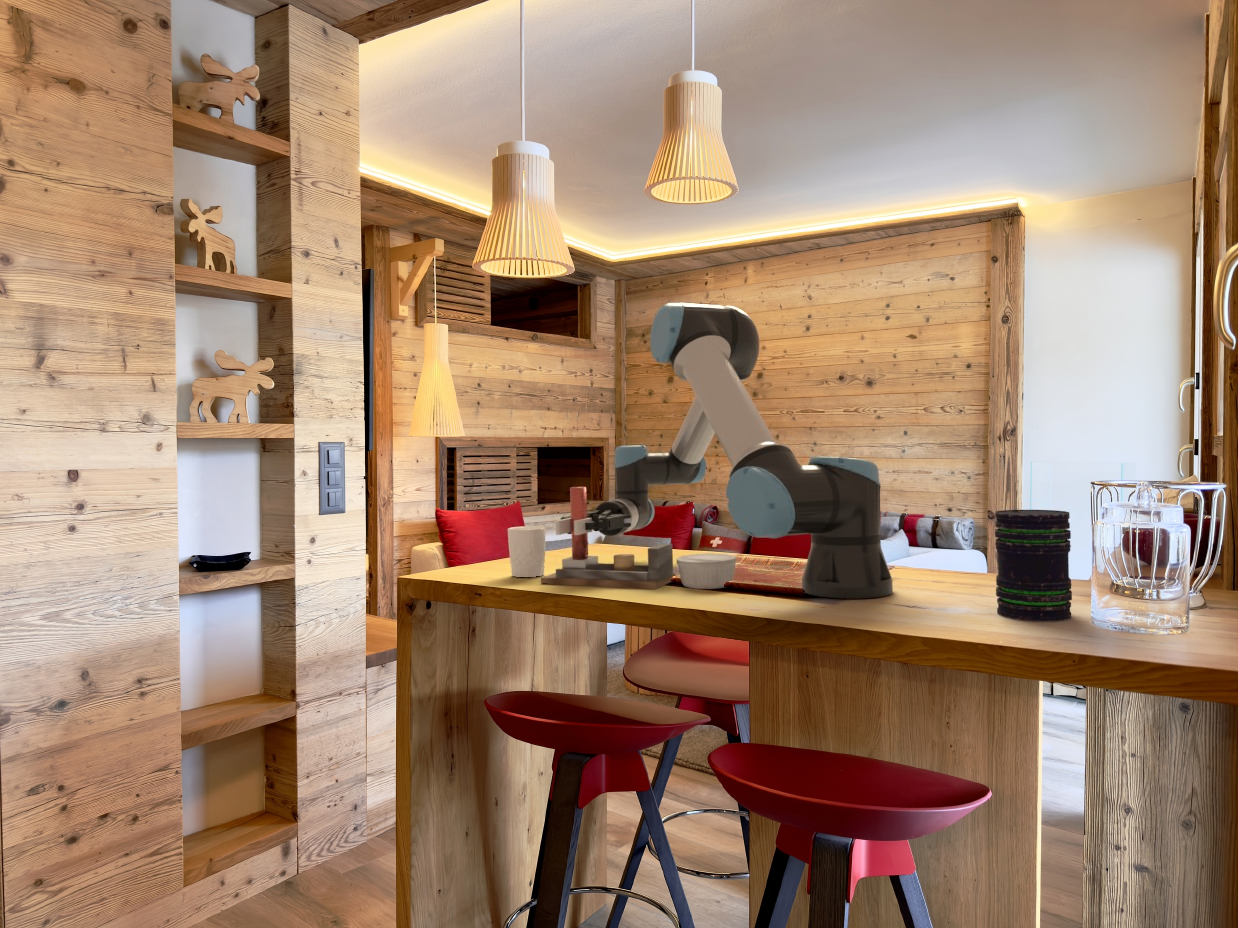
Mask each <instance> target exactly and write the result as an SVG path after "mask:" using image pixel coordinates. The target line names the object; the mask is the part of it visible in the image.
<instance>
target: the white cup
mask: <svg viewBox="0 0 1238 928" xmlns="http://www.w3.org/2000/svg"><path fill="white" fill-rule="evenodd" d="M546 531H547V530H546V526H541V525H540V526H539V525H532V526H531V525H524V526H514V527H509V528H507V538H508V540H507V542H508V550H509V551H508V552H509V561H510V562H509V563H510V568H511V577H512V576H516V577H533V578H537V577H536V576H540V577H543V576H544V575H545V562H546V559H545V558H546ZM542 575H543V576H542ZM516 577H515V578H516Z"/></svg>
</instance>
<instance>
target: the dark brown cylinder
mask: <svg viewBox="0 0 1238 928" xmlns="http://www.w3.org/2000/svg"><path fill="white" fill-rule="evenodd" d="M994 515H995V516H994V517H995V518H996V519H995V520H996V521H995V524H994V527H995V529H994V537H995V544H994V545H995V549H996V550H997V575H996V577H995V579H996V580H995V582H996V587H995V596H996V597H998V598H997V599H996V602H997V606H998V607H997V608H996V611H997V612H996V613H997V614H998V615H999V616H1000V617H1003V618H1007V619H1012V620H1016V621H1017V620H1018V621H1024V622H1025V621H1026V622H1039V623H1046V622H1047V623H1048V622H1049V623H1050V622H1052V623H1055V622H1064V621H1068V620H1070V619H1072V612H1071V607H1072V602H1071V601H1072V599H1073V591H1072V590H1071V589H1072V586H1073V585H1072V579H1071V578H1070V573H1069V572H1070V569H1069V568H1070V567H1069V565H1070V564H1069V562H1070V561H1069V553H1070V552H1071V548H1072V545H1071V540H1070V539H1071V538H1072V537H1071V536H1072V533H1071V532H1072V531H1071V530H1070V528H1071V527H1070V526H1071V524H1070V522H1069V519H1070V517H1071V516H1070V511H1067V510H1066V511H1065V510H1064V511H1063V510H1057V509H1055V510H1053V509H1050V510H1049V509H1004V510H997V511H995V512H994Z"/></svg>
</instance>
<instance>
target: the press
mask: <svg viewBox="0 0 1238 928" xmlns="http://www.w3.org/2000/svg"><path fill="white" fill-rule="evenodd" d="M673 554H674V553H673V543H661V544H657V545H654V546H652V547H649V548H647V564H636V563H635V571H614V563H603V562H602V563H600V562H598V570H580V569H562V568H556V569H555V572H554V573H550V574H548V575H547V574H546V575H545V576H544V575H543V576H540V584H541V583H548V584H547V585H557V584H561V585H560V586H579V585H580V586H581V587H583V586H584V587H601V588H603V587H605V588H606V587H607V588H625V589H627V588H628V589H645V590H647V589H649V590H651V589H652V590H657V589H659V588H661V587H663V586H665V585H667V584H670V583H671V582H673V581H671V578H672V577H673V576H676V577H677V573H674V564H673V563H674V560H673V559H674V558H673V557H674V555H673Z"/></svg>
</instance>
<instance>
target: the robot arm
mask: <svg viewBox="0 0 1238 928" xmlns="http://www.w3.org/2000/svg"><path fill="white" fill-rule="evenodd" d="M649 341H650V342H649V344H650V345H649V347H650V352H651V356H652V358H653V359H654V361H656V362H657V363H661V365H664V364H670V366H671V368H672V370H673V372H674V373H675V375H676V376H677V377H678V379H680V380H681V381H684V382H686V383H687V382H688V383H689V386H690V387H691V389H692V391H693V393H694V395H695V396H694V399H693V401H692V403H691V405H690V407H689V409H688V410H687V411H688V412H687V414H686V415H685V418H684V420H683V422H682V424H681V427H680V429H679V431H678V433H677V435H676V437H675V438H674V441H673V444H672V446H671V447H670V450H669V451H668V452H649V451H648V446H646V445H643V444H640V445H639V444H638V445H620V446H617V447H616V448H615V449H614V450H615V451H614V465H613V467H614V478H615V479H614V480H615V481H614V482H615V483H614V484H615V499H613V500H606V501H602V502H601V503H600V504H599V505H597V506H596V508H594V510H593V511H592V512H591V511H590V512H587V518H586V519H581V520H576V521H574V535H580V534H584V533H593V531H594V532H599V533H600V534H602V535H604V536H607V537H613V536H617V535H618V536H621V537H622V536H624V533H627V532H631V531H635V530H641V529H644V528H645V527H646V526H648V525H649V524H651V522H652V521H653V519H654V517H655V514H656V513H655V511H656V510H655V507H654V504H653V502H652V500H651V499H649V487H650V486H663V485H665V486H666V485H667V486H668V485H689V484H695V483H700V482H702V481H703V480H704V478H705V476H706V474H707V473H706V470H707V461H706V458H705V456H704V455H705V453H706V452H707V449H708V448H709V445H710V444H711V442H712V440H713V437H714V436H716V437H717V439H718V441H719V443H720V446H721V447H722V449H723V451H724V453H725V455H726V458H727V459H728V461H729V462H730V465H731V469H730V471H729V476H728V478H729V479H728V482H727V484H726V490H725V491H726V492H725V496H726V498H727V500H728V501H727V503H726V504H727V509H728V513H729V515H730V516H731V518H732V521H733V522H734V524H736V526H737V527H738V528H739V530H741V531H742V532H743V533H745V534H746V535H748V536H751V537H752V538H753V537H754V538H768V539H777V538H779V539H780V538H782V537H787V536H801V535H810V542H811V543H810V550H809V553H808V556H807V560H806V563H805V567H804V571H803V573H802V577H801V589H802V588H803V589H804V590H805V592H804V593H805V594H807V595H811V596H817V597H823V598H831V599H833V598H834V599H870V598H871V599H872V598H874V599H875V598H880V597H885V596H889V595H891V594H893V592H894V591H893V590H894V589H893V578H892V574H891V572H890V569H889V567H888V563H887V561H886V558H885V555H884V552H883V550H882V542H881V541H882V539H881V537H882V535H881V532H882V531H881V487H882V486H881V485H882V484H881V483H880V474H879V473H880V472H879V468H878V466H877V465H876V464H875V462H873V461H872V460H871V461H870V460H868V459H863V458H862V459H861V458H852V457H851V458H850V457H839V456H822V455H821V456H820V455H819V456H811V457H810V458H809V462H808V463H807V464H800V462H799V461H798V460H797V459H796V456H795V455H794V453H793V452H792V450H791V448H790V447H789V446H787V445H785V444H782V443H777V442H776V440H775V438H774V436H773V435H772V433H771V431H770V430H769V428H768V426H767V424H766V423H765V420H764V418H763V417H762V415H761V414H760V412H759V410H758V408H757V406H756V404H755V403H754V401H753V400H752V398H751V396H750V394H749V393H748V391H747V390H746V387H745V386H744V384H743V383H742V382H743V381H746V380H748V379H749V378H750V376H751V374H752V372H753V371H754V369H755V368H756V365H757V362H758V358H759V353H760V336H759V333H758V329H757V326H756V324H755V322H754V321H753V319H752V318H751V317H750V315H748V314H747V313H746V312H745V311H744V310H743V309H740V308H738V307H735V306H733V305H716V304H703V303H689V302H688V303H687V302H683V301H682V302H680V301H679V302H668V303H665V304H663V305H661V306H660V307H659V309H658V310H657V312H656V314H655V316H654V318H653V321H652V324H651V329H650V339H649ZM564 534H565V535H566V534H567V535H572V534H571V515H566V516H562V517H560V519H559V520H555V535H556V536H560V535H564Z"/></svg>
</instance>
